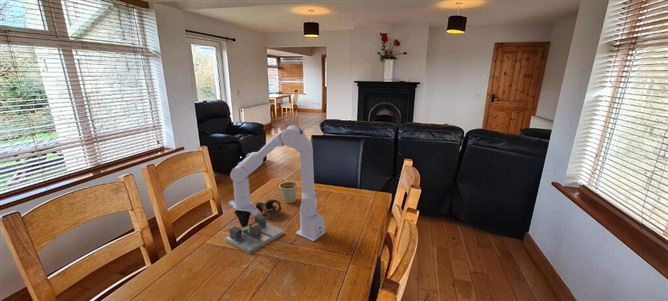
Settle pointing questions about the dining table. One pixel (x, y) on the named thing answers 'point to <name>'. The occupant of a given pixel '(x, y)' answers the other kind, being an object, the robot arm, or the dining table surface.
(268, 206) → the pottery mug
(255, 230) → the breaker
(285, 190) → the flower pot
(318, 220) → the robot arm
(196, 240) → the dining table surface
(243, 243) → the panel
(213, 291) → the dining table surface
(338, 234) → the dining table surface
